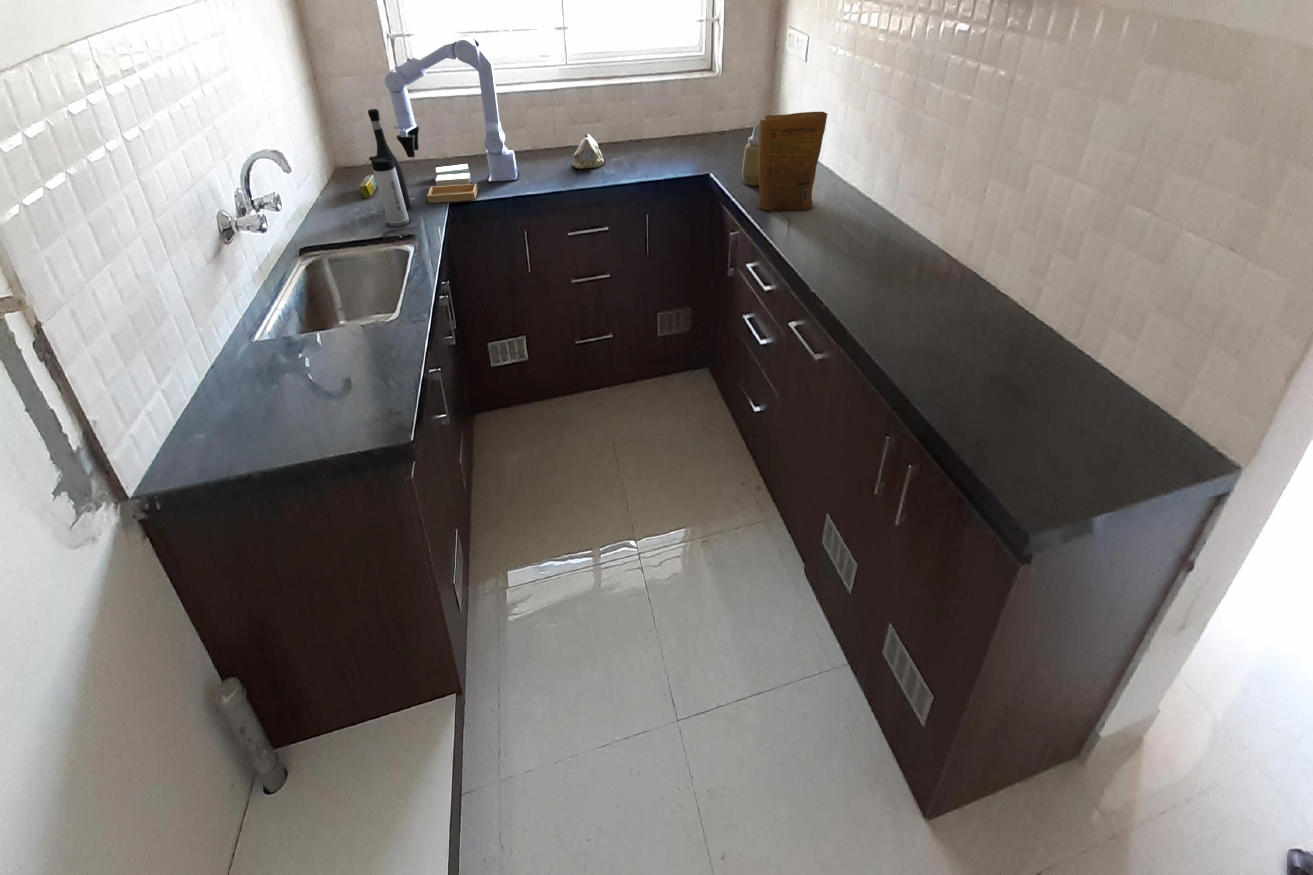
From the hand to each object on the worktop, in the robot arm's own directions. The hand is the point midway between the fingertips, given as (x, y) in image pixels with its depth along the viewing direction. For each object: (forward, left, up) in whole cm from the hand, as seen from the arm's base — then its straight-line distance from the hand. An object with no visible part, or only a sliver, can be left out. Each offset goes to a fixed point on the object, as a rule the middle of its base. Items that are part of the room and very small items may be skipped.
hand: (413, 153), depth 242 cm
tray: (-13, +16, -10) cm, 23 cm away
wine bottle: (+3, +24, -10) cm, 26 cm away
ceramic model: (-59, -10, -10) cm, 61 cm away
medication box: (+16, +6, -10) cm, 20 cm away
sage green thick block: (-11, -4, -10) cm, 15 cm away
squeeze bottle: (-113, +23, -10) cm, 116 cm away
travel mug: (+1, +36, -10) cm, 37 cm away
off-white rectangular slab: (-12, +6, -10) cm, 17 cm away
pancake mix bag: (-118, +47, -10) cm, 128 cm away
